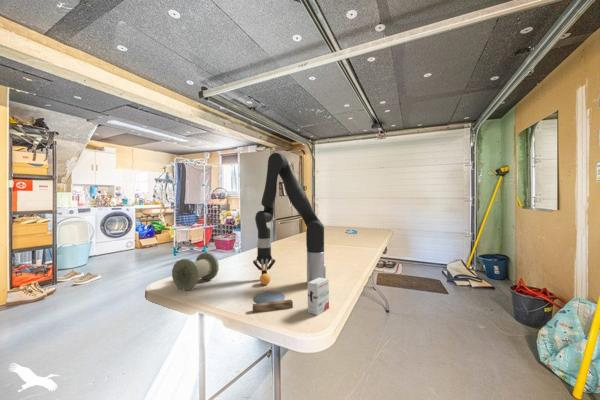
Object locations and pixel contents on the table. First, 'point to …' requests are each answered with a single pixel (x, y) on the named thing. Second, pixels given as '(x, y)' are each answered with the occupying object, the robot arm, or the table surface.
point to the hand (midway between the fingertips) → (264, 277)
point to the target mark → (269, 297)
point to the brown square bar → (272, 306)
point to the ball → (264, 279)
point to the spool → (194, 270)
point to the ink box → (318, 295)
